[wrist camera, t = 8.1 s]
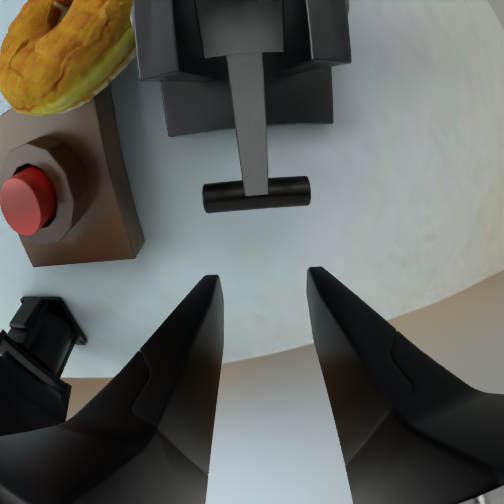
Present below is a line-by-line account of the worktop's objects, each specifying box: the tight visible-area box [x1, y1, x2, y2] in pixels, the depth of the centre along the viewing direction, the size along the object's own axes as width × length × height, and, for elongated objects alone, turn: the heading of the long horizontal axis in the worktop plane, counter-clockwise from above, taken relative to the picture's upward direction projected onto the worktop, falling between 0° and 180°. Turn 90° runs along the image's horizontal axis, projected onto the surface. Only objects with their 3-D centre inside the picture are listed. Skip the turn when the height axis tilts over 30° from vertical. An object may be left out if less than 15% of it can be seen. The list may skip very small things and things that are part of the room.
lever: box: [193, 0, 311, 213], centre depth 9 cm, size 11×5×2 cm, turn 3°
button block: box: [0, 84, 144, 267], centre depth 14 cm, size 12×10×4 cm
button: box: [0, 167, 56, 235], centre depth 12 cm, size 4×4×2 cm
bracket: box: [130, 0, 351, 137], centre depth 8 cm, size 10×9×10 cm
